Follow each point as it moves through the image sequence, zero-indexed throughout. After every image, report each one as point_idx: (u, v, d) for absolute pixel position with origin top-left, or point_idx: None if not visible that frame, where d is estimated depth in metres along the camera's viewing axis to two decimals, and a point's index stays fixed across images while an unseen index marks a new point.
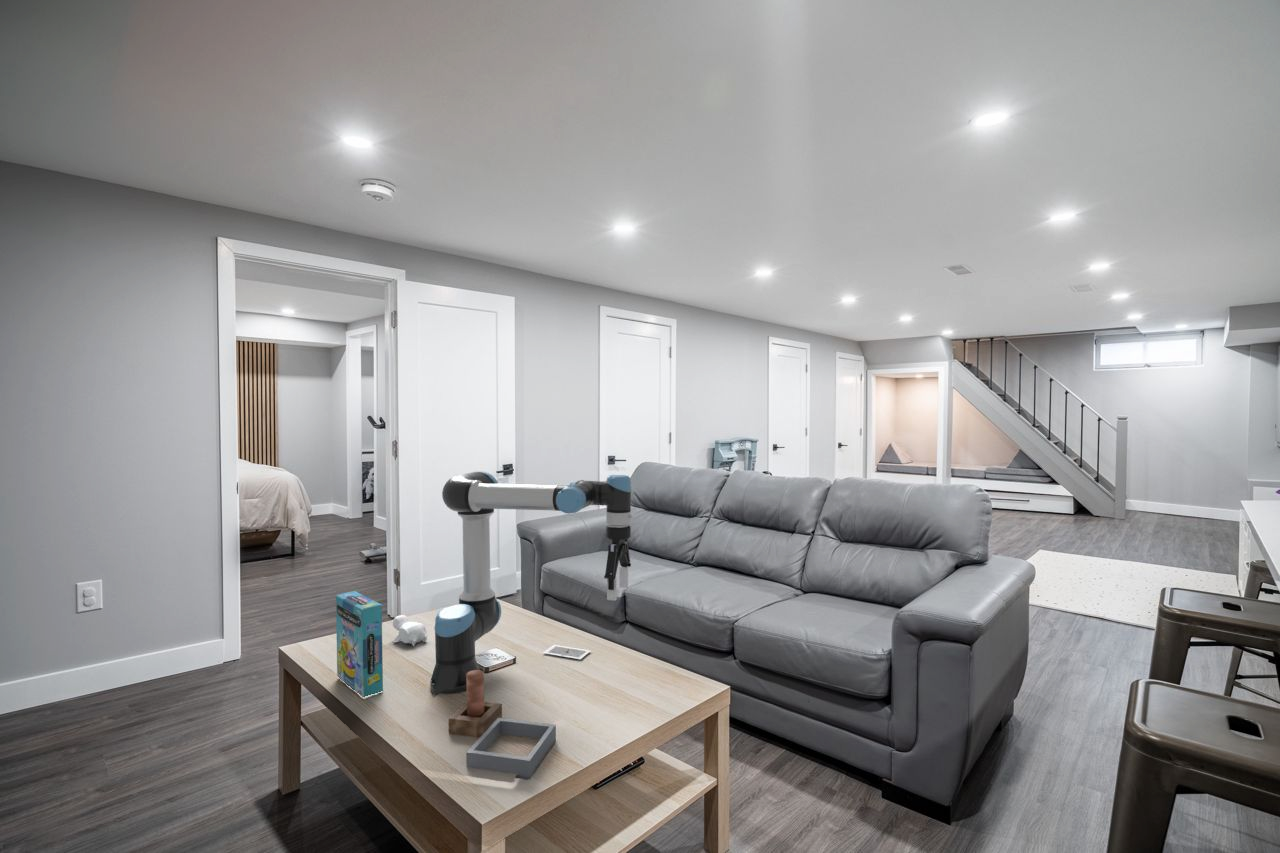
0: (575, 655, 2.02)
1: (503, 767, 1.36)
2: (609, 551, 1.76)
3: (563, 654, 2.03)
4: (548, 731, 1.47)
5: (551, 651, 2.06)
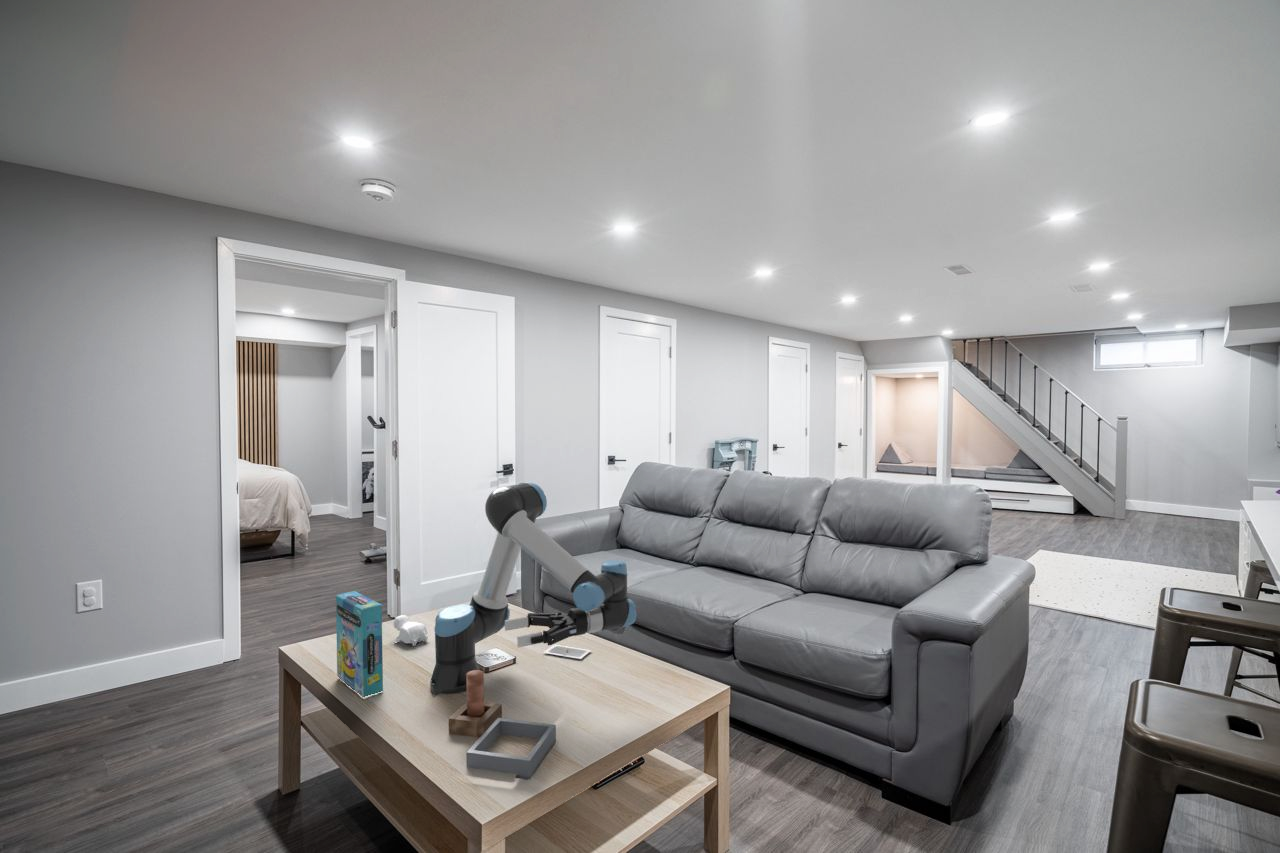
0: (576, 655, 2.02)
1: (503, 767, 1.36)
2: (570, 629, 1.61)
3: (563, 654, 2.03)
4: (548, 731, 1.47)
5: (552, 650, 2.07)
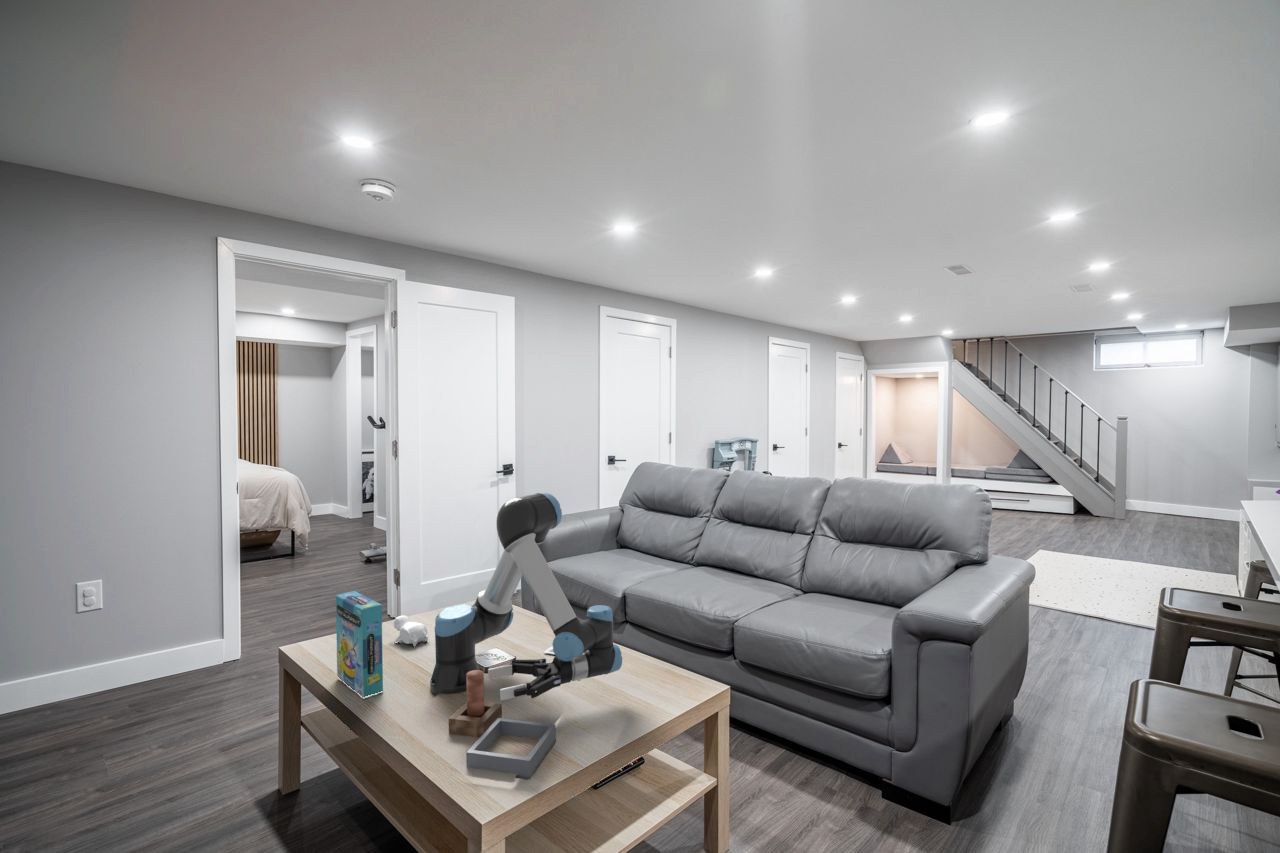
0: None
1: (503, 767, 1.36)
2: (554, 679, 1.58)
3: None
4: (548, 731, 1.47)
5: (552, 650, 2.07)
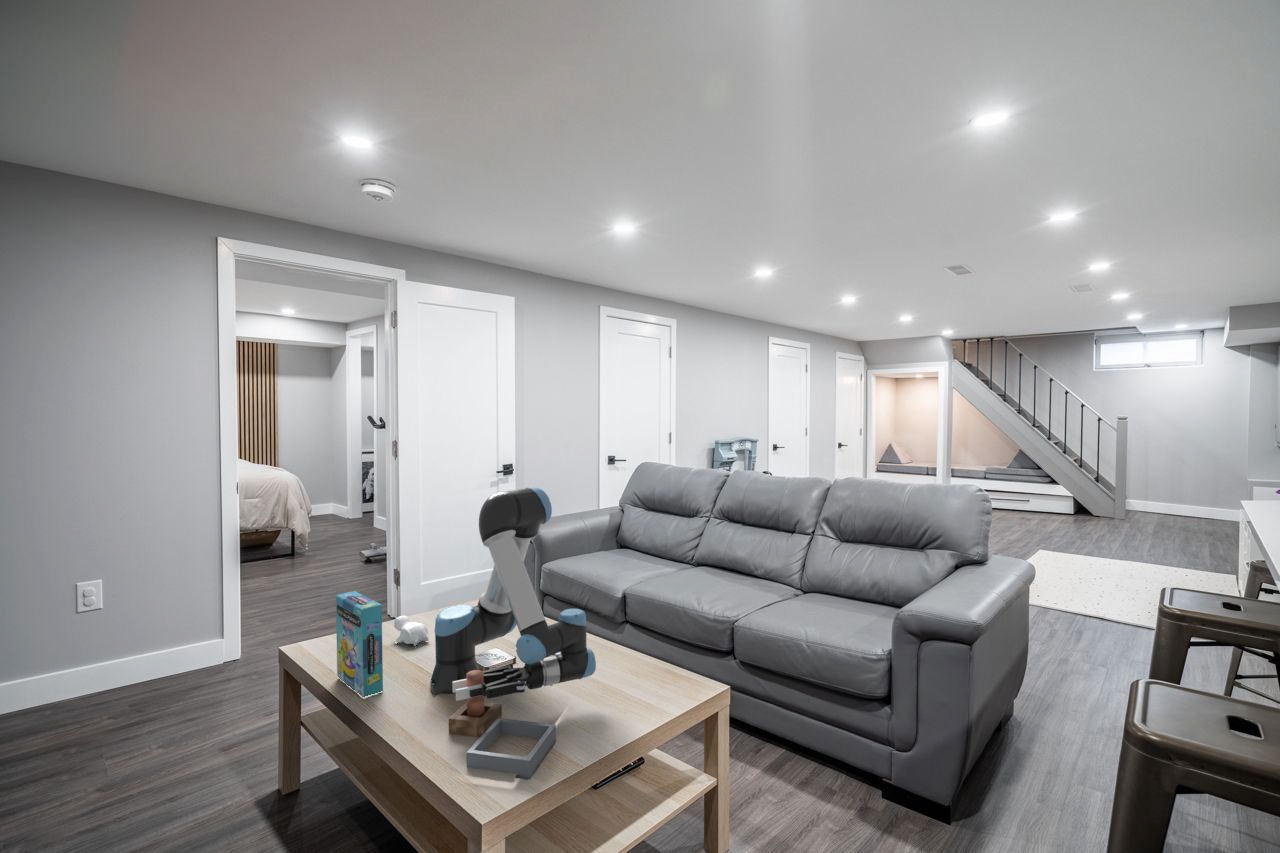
0: None
1: (503, 767, 1.36)
2: (516, 685, 1.55)
3: None
4: (548, 731, 1.47)
5: None
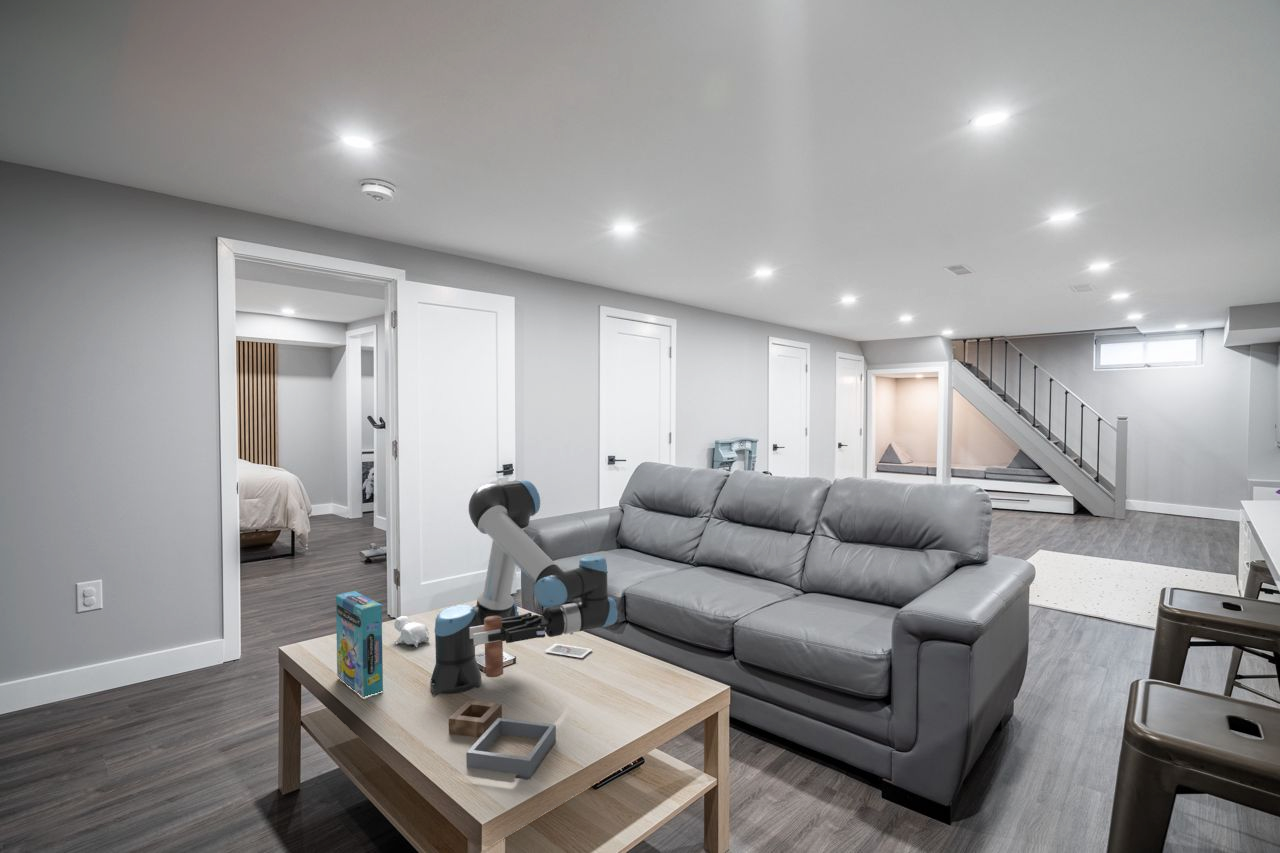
0: (577, 654, 2.03)
1: (503, 767, 1.36)
2: (536, 629, 1.48)
3: (565, 653, 2.04)
4: (548, 731, 1.47)
5: (553, 649, 2.07)
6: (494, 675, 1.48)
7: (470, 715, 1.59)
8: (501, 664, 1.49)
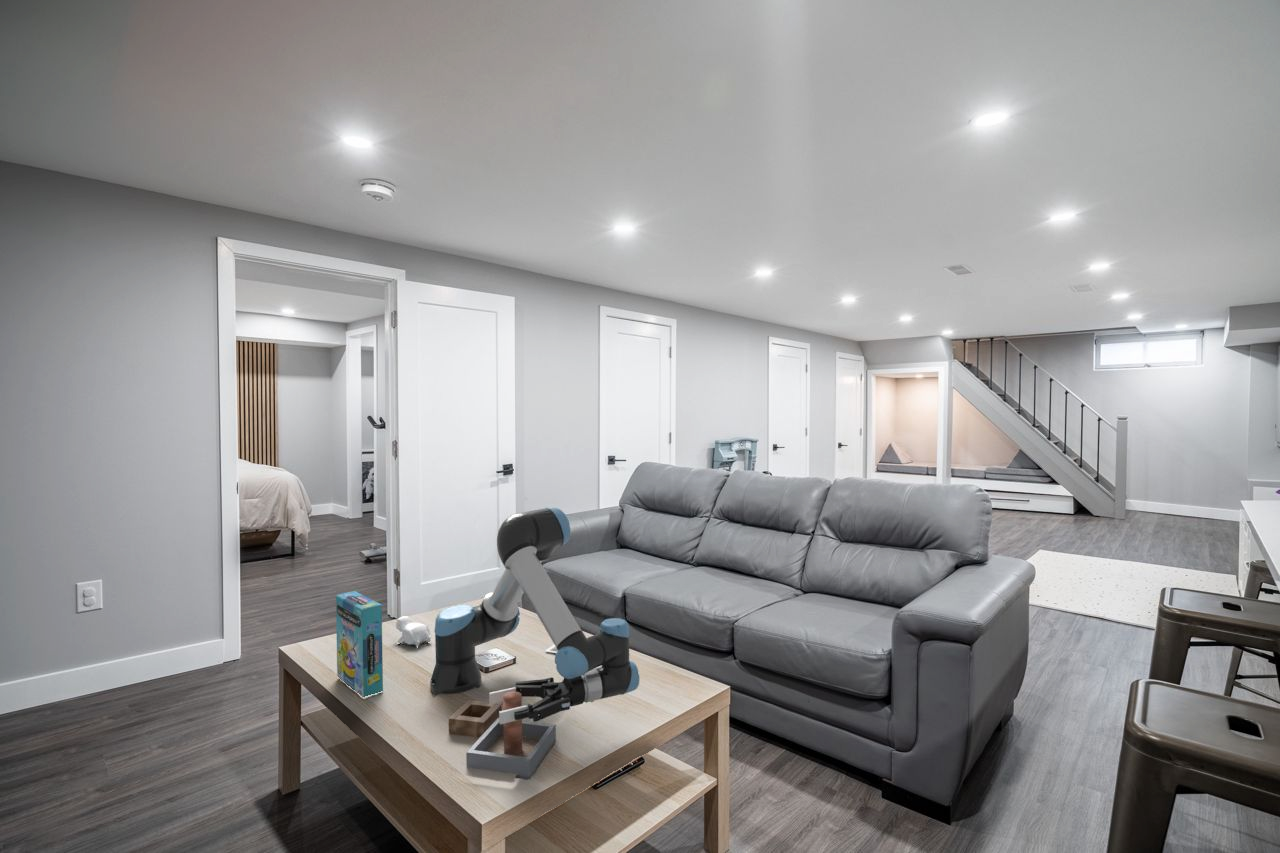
0: None
1: (503, 767, 1.36)
2: (562, 702, 1.43)
3: None
4: (548, 731, 1.47)
5: (553, 649, 2.08)
6: None
7: (470, 715, 1.59)
8: (520, 743, 1.43)
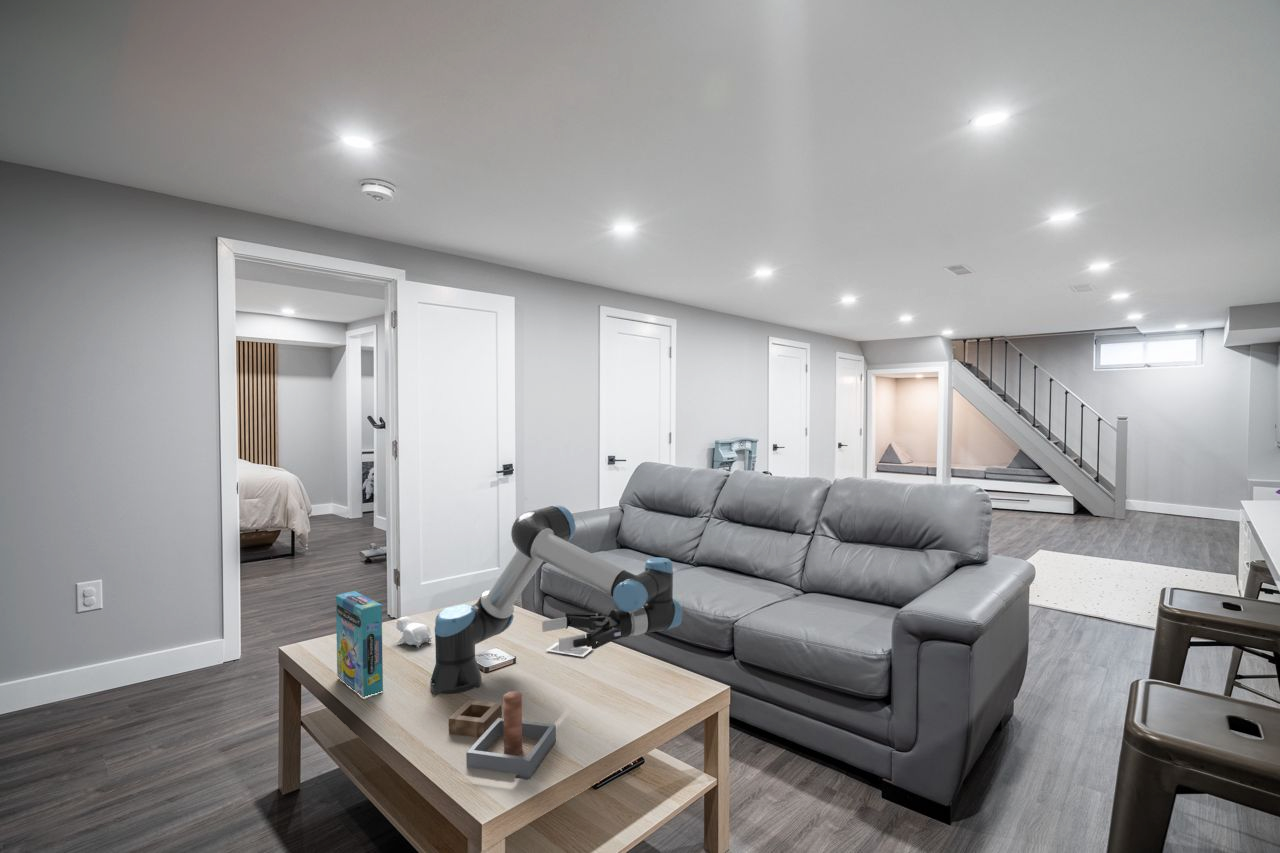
0: (578, 653, 2.04)
1: (503, 767, 1.36)
2: (614, 631, 1.48)
3: (566, 652, 2.05)
4: (548, 731, 1.47)
5: (554, 648, 2.08)
6: None
7: (470, 715, 1.59)
8: (520, 743, 1.43)
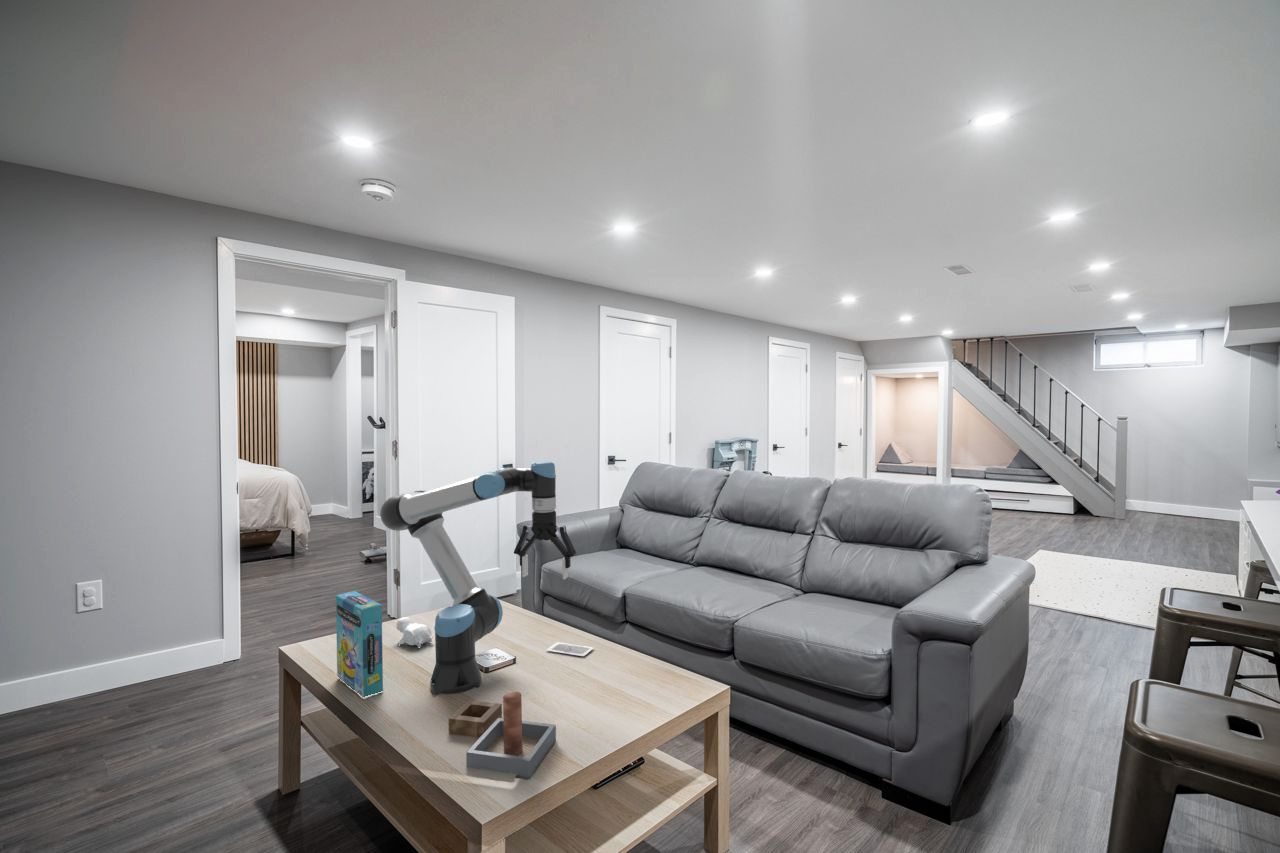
0: (579, 652, 2.04)
1: (503, 767, 1.36)
2: None
3: (566, 651, 2.06)
4: (548, 731, 1.47)
5: (555, 648, 2.09)
6: None
7: (470, 715, 1.59)
8: (520, 743, 1.43)
